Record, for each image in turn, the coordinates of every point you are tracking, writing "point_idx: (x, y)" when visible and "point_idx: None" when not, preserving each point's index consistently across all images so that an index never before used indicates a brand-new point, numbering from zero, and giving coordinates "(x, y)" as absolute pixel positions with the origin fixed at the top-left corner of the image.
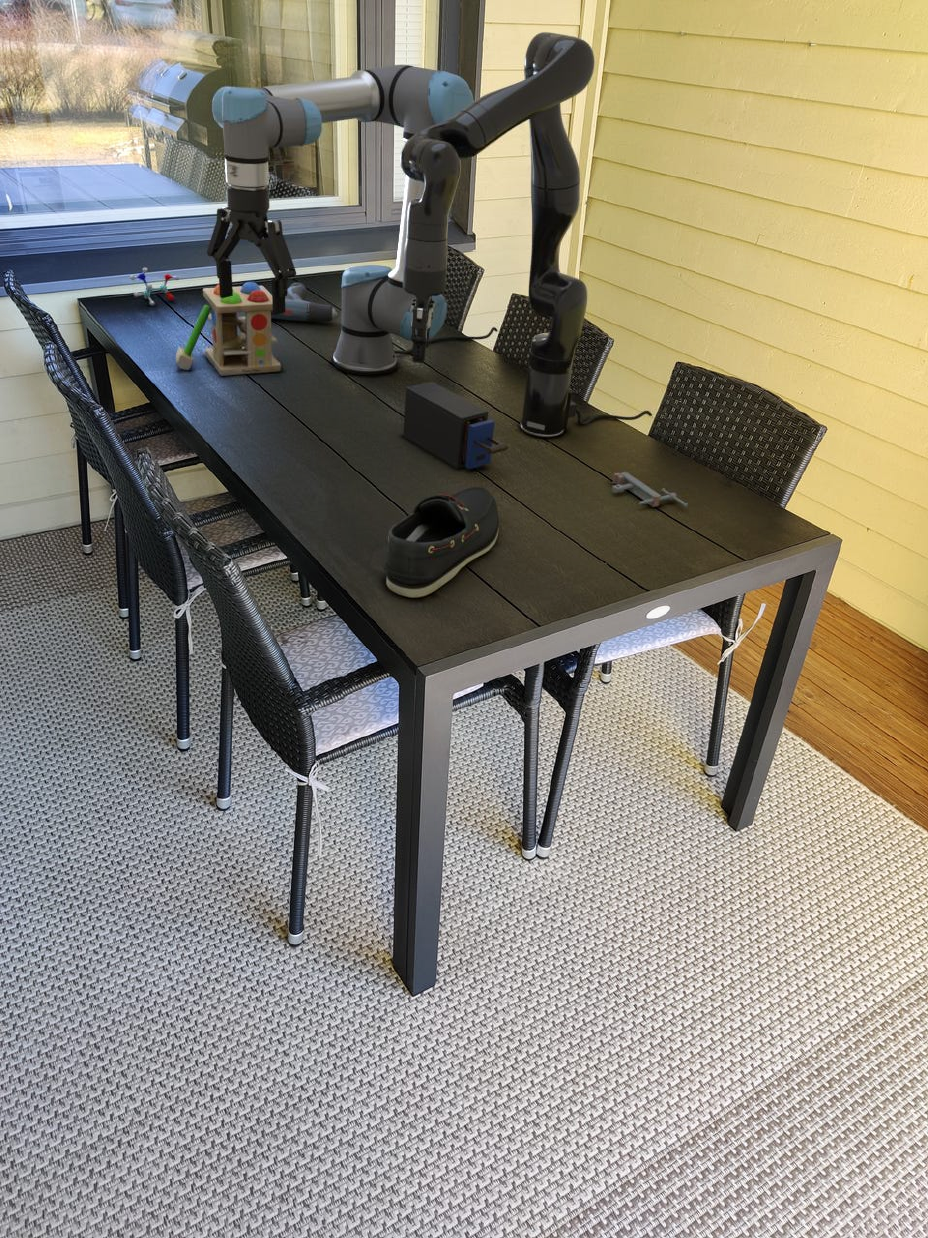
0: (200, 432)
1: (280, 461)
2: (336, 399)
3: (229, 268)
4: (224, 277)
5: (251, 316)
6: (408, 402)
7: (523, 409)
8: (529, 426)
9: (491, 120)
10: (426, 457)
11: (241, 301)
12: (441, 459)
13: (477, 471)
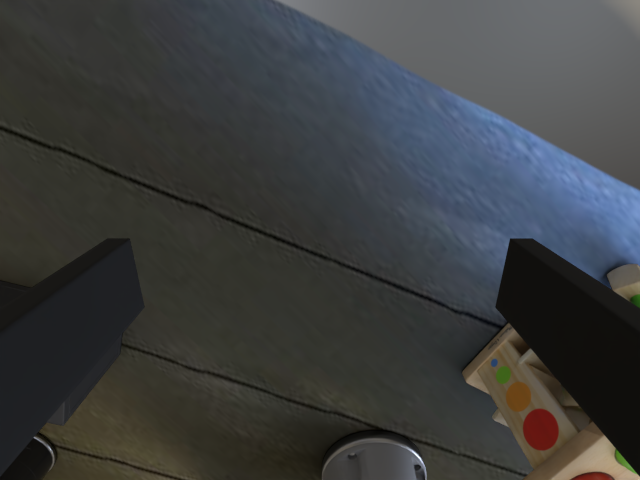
0: (396, 64)
1: (178, 75)
2: (311, 348)
3: (608, 414)
4: (581, 322)
5: (561, 430)
6: None
7: (18, 465)
8: None
9: None
10: (37, 275)
11: (616, 458)
12: (15, 284)
13: None
